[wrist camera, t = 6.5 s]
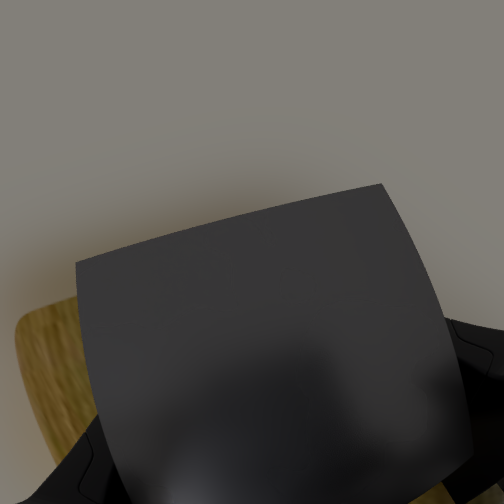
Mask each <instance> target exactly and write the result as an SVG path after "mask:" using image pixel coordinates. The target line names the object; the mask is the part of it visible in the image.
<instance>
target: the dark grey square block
mask: <svg viewBox="0 0 504 504" xmlns="http://www.w3.org/2000/svg"><path fill="white" fill-rule="evenodd" d="M76 282H77V283H76V284H77V298H78V309H79V319H80V327H81V334H82V341H83V348H84V354H85V359H86V365H87V370H88V375H89V379H90V384H91V388H92V392H93V396H94V400H95V404H96V408H97V412H98V415H99V419H100V422H101V425H102V429H103V432H104V435H105V438H106V441H107V444H108V447H109V450H110V452H111V455H112V458H113V460H114V463H115V466H116V468H117V470H118V473H119V475H120V478H121V480H122V482H123V485H124V487H125V489H126V491H127V493H128V496H129V498H130V500H131V502H132V504H408V503H409V502H411V501H413V500H414V499H416V498H417V497H419V496H420V495H422V494H424V493H425V492H427V491H428V490H429V489H431V488H432V487H434V486H435V485H437V484H438V483H439V482H441V481H442V480H443V479H445V478H446V477H447V476H449V475H450V474H451V473H453V472H454V471H455V470H456V469H458V468H459V467H460V466H461V465H462V464H464V463H465V462H466V461H467V460H468V459H469V458H471V457H472V456H473V455H474V448H473V438H472V430H471V423H470V416H469V410H468V405H467V400H466V394H465V390H464V385H463V381H462V376H461V372H460V368H459V364H458V361H457V357H456V353H455V350H454V346H453V343H452V340H451V336H450V333H449V330H448V327H447V324H446V321H445V318H444V315H443V312H442V310H441V307H440V304H439V301H438V299H437V296H436V294H435V291H434V289H433V286H432V283H431V281H430V279H429V276H428V274H427V272H426V269H425V267H424V265H423V263H422V260H421V258H420V256H419V254H418V251H417V249H416V247H415V245H414V243H413V241H412V239H411V237H410V235H409V233H408V231H407V229H406V227H405V225H404V223H403V221H402V219H401V217H400V215H399V214H398V212H397V210H396V208H395V206H394V204H393V202H392V201H391V199H390V197H389V195H388V194H387V192H386V190H385V189H384V187H383V185H382V184H376V185H371V186H366V187H361V188H356V189H351V190H346V191H342V192H337V193H332V194H328V195H323V196H319V197H314V198H310V199H305V200H301V201H297V202H292V203H288V204H284V205H280V206H275V207H271V208H267V209H263V210H259V211H255V212H251V213H247V214H243V215H239V216H235V217H231V218H227V219H224V220H219V221H216V222H212V223H208V224H204V225H200V226H197V227H193V228H189V229H186V230H182V231H178V232H175V233H171V234H168V235H164V236H161V237H157V238H154V239H150V240H147V241H144V242H140V243H137V244H133V245H130V246H127V247H123V248H120V249H117V250H114V251H110V252H107V253H104V254H101V255H97V256H94V257H92V258H88V259H85V260H82V261H79V262H76Z"/></svg>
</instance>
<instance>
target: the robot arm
mask: <svg viewBox="0 0 504 504" xmlns="http://www.w3.org/2000/svg"><path fill="white" fill-rule="evenodd" d="M444 318H445V317H444ZM445 321H446V324H447V327H448V330H449V333H450V336H451V340H452V343H453V346H454V350H455V353H456V357H457V361H458V364H459V368H460V372H461V376H462V381H463V385H464V390H465V394H466V400H467V405H468V410H469V416H470V423H471V430H472V438H473V448H474V455H473V456H472V457H471V458H469V459H468V460H467V461H466V462H465V463H464V464H462V465H461V466H460V467H459V468H458V469H456V470H455V471H454V472H453V473H451V474H450V475H449V476H447V477H446V478H445V479H443V480H442V481H441V482H442V483H443V485H444V486H445V488H446V489H447V491H448V492H449V494H450V496H451V497H452V499H453V500H454V502H455V504H465V503H467V502H469V501H470V500H472V499H474V498H475V497H477V496H478V495H480V494H481V493H483V492H484V491H486V490H487V489H489V488H490V487H491V486H493V485H494V484H496V483H497V484H498V485H499V486H500V488H501V489H502V490H503V492H504V331H503V330H497V329H491V328H486V327H481V326H476V325H472V324H468V323H464V322H460V321H457V320H453V319H451V320H450V319H449V318H445ZM17 504H132V502H131V500H130V498H129V496H128V493H127V491H126V489H125V487H124V485H123V482H122V480H121V478H120V475H119V473H118V470H117V468H116V466H115V463H114V460H113V458H112V455H111V452H110V450H109V447H108V444H107V441H106V438H105V435H104V432H103V429H102V425H101V422H100V419H99V415H98V414H97V415H96V417H95V418H94V419H93V421H92V422H91V424H90V425H89V426H88V428H87V429H86V433H85V432H84V433H83V434H82V436H81V437H80V438H79V440H78V441H77V443H76V444H75V445H74V447H73V448H72V449H71V450H70V452H69V453H68V454H67V456H66V457H65V458H64V459H63V460H62V462H61V463H60V464H59V465H58V466H57V468H56V469H55V470H54V471H53V472H52V473H51V474H50V475H49V477H48V478H47V479H46V480H45V481H44V482H43V483H42V485H41V486H40V487H39V488H38V489H37V491H35V492H34V493H33V494H32V496H30V497H29V498H28V499H26V500H24V501H23V502H20V503H17Z"/></svg>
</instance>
